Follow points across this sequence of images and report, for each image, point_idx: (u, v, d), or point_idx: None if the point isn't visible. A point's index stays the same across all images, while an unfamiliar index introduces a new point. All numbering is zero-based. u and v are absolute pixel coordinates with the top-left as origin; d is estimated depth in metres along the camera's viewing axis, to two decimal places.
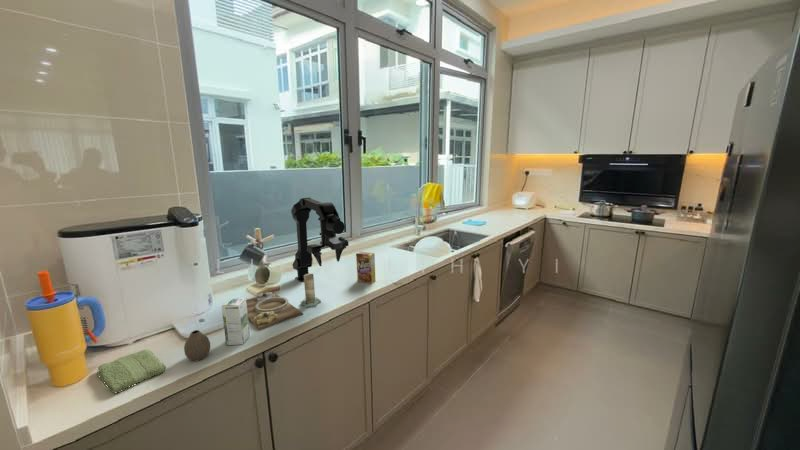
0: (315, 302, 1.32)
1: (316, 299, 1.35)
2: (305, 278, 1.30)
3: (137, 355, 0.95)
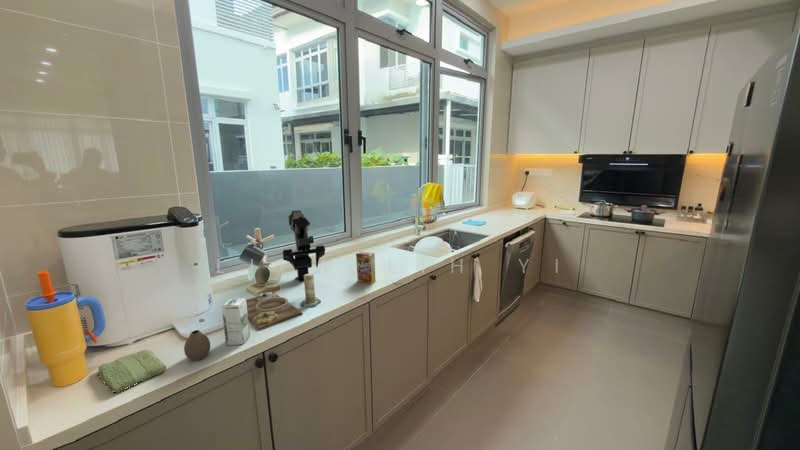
0: (315, 302, 1.32)
1: (316, 299, 1.35)
2: (305, 278, 1.30)
3: (137, 355, 0.95)
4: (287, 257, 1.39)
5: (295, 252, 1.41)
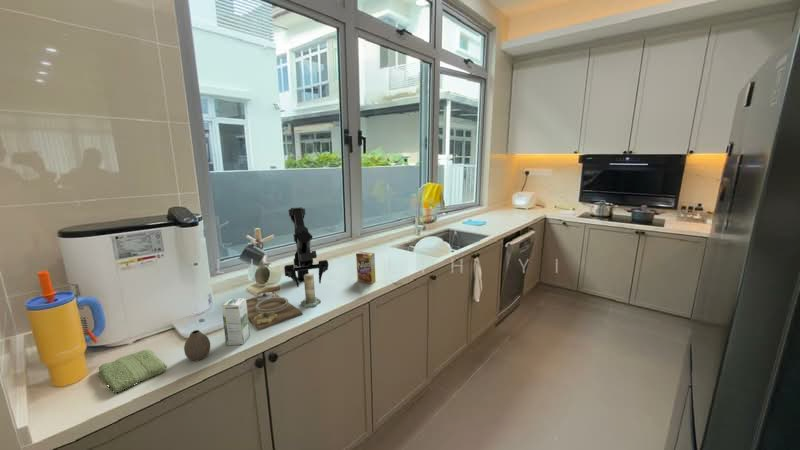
0: (315, 302, 1.32)
1: (316, 299, 1.35)
2: (305, 278, 1.30)
3: (138, 355, 0.95)
4: (289, 273, 1.33)
5: (297, 268, 1.35)
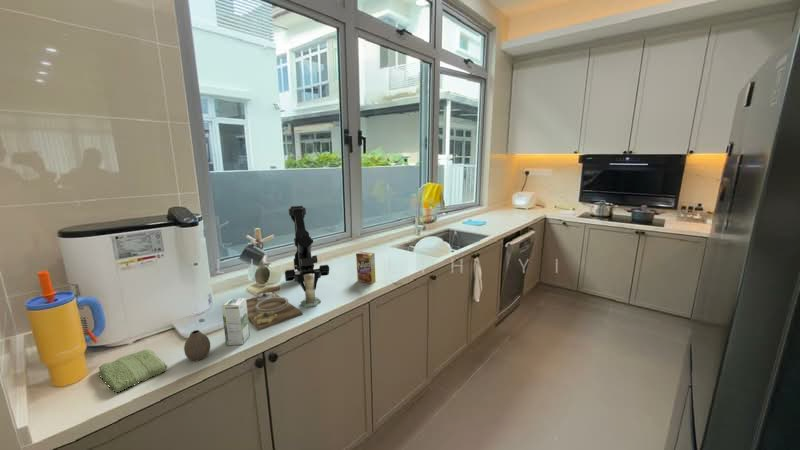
0: (315, 302, 1.32)
1: (316, 299, 1.35)
2: (305, 278, 1.30)
3: (138, 355, 0.95)
4: (295, 277, 1.32)
5: None
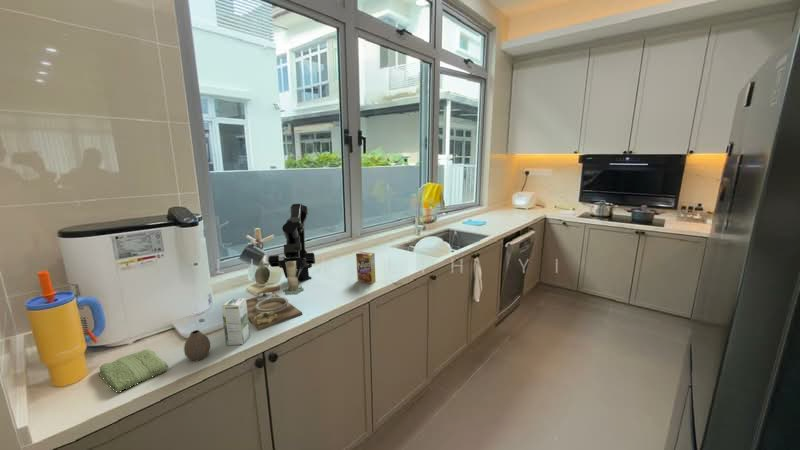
0: (296, 290, 1.28)
1: (299, 287, 1.31)
2: (286, 265, 1.26)
3: (139, 355, 0.95)
4: (279, 263, 1.29)
5: None
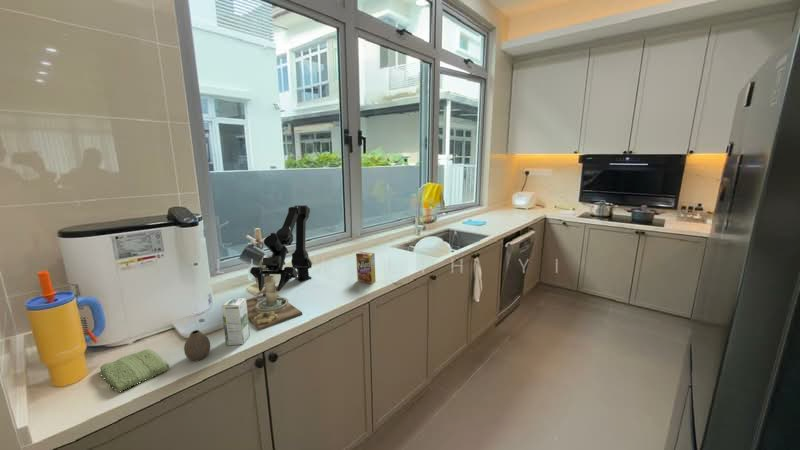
0: (273, 306, 1.27)
1: (278, 303, 1.30)
2: (264, 280, 1.26)
3: (139, 354, 0.95)
4: (256, 275, 1.30)
5: (264, 271, 1.31)
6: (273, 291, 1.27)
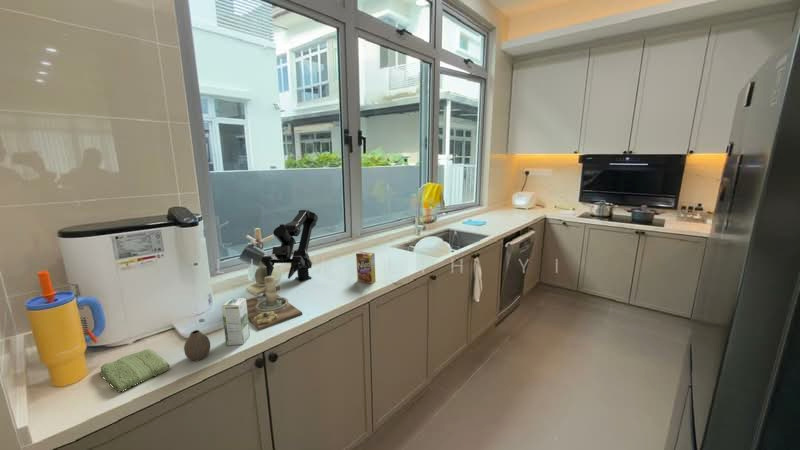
0: (273, 306, 1.27)
1: (278, 303, 1.30)
2: (264, 280, 1.26)
3: (140, 354, 0.95)
4: (264, 264, 1.39)
5: (273, 260, 1.40)
6: (273, 291, 1.27)
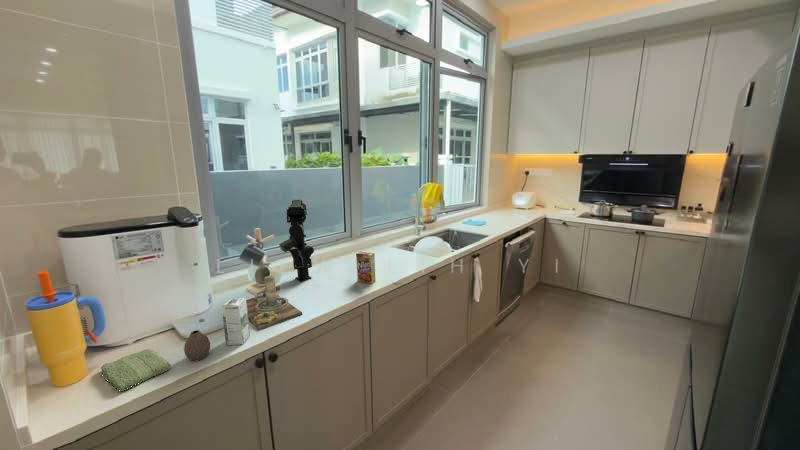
0: (273, 306, 1.27)
1: (278, 303, 1.30)
2: (264, 280, 1.26)
3: (140, 354, 0.95)
4: None
5: None
6: (273, 291, 1.27)
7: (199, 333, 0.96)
